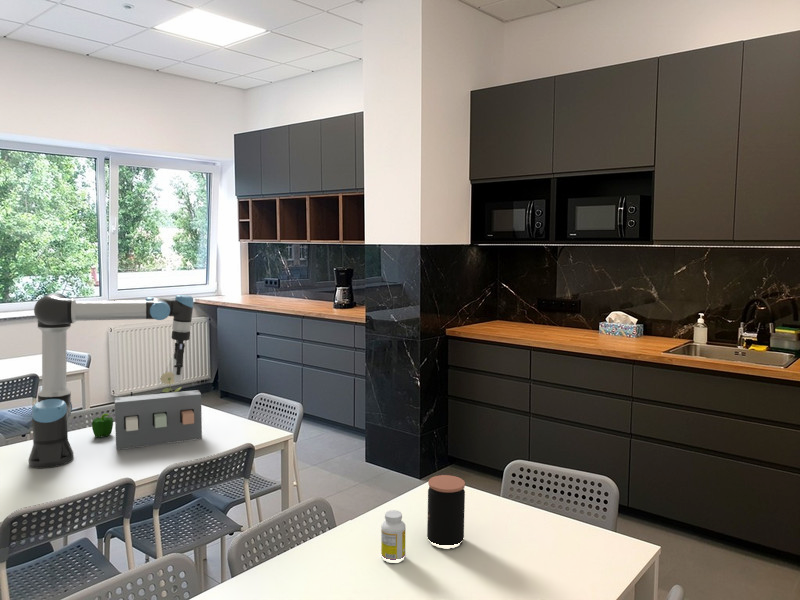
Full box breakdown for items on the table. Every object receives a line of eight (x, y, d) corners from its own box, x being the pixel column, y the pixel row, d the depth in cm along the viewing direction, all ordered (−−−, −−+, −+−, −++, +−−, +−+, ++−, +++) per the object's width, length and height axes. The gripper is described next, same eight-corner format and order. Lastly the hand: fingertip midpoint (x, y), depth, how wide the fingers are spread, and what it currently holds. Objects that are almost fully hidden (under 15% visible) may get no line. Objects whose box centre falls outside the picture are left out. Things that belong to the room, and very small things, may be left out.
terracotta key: (183, 424, 253) (183, 414, 253) (181, 420, 259) (181, 410, 259) (194, 423, 255) (193, 413, 255) (191, 419, 261) (191, 409, 261)
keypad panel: (116, 449, 247) (114, 402, 245) (115, 443, 254) (114, 397, 252) (201, 438, 262) (201, 394, 260) (199, 433, 269) (198, 390, 267)
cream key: (126, 431, 243) (126, 420, 243) (125, 426, 249) (125, 416, 249) (138, 429, 245) (137, 419, 245) (137, 425, 251) (136, 415, 251)
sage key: (155, 427, 248) (155, 417, 248) (154, 423, 254) (153, 413, 254) (166, 426, 250) (166, 416, 250) (165, 422, 256) (164, 412, 256)
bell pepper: (87, 437, 262) (86, 415, 261) (102, 432, 269) (101, 410, 268) (102, 439, 259) (102, 417, 258) (117, 434, 267) (116, 412, 266)
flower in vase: (192, 419, 290) (191, 368, 288) (185, 426, 279) (184, 374, 277) (165, 419, 290) (163, 368, 287) (157, 426, 278) (155, 374, 276)
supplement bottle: (398, 550, 169) (398, 506, 168) (409, 561, 163) (410, 516, 162) (377, 555, 166) (377, 511, 165) (387, 567, 160) (388, 521, 159)
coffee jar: (441, 529, 182) (442, 472, 180) (470, 540, 175) (472, 481, 173) (419, 542, 174) (420, 482, 172) (450, 554, 167) (451, 492, 165)
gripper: (192, 336, 251) (187, 385, 253) (188, 325, 274) (183, 371, 276) (173, 335, 248) (168, 385, 250) (170, 324, 271) (166, 370, 273)
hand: (176, 377), depth 263 cm, fingers open, 13 cm apart
